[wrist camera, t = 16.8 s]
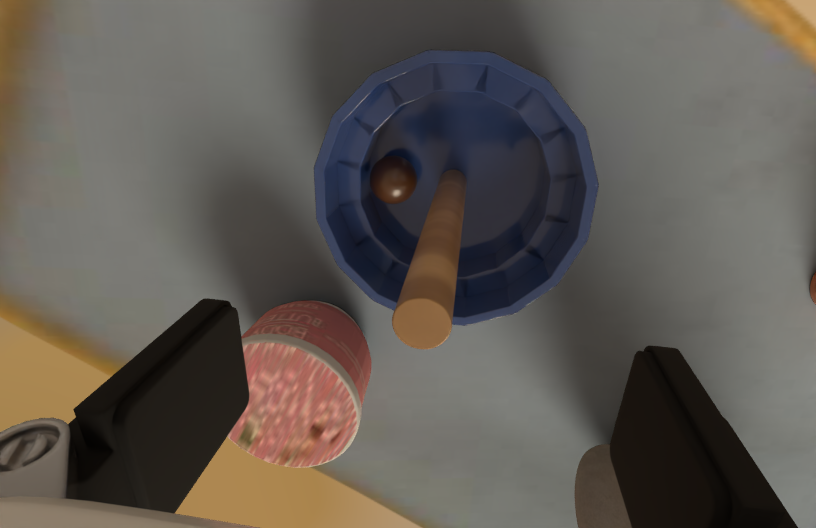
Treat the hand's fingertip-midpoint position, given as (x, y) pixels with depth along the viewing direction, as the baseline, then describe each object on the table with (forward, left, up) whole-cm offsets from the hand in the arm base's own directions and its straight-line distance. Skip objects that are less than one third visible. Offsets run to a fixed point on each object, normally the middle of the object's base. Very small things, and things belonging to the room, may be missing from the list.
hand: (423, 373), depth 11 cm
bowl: (0, 0, -22) cm, 22 cm away
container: (+14, -10, -22) cm, 28 cm away
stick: (0, 0, -21) cm, 21 cm away
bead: (0, -4, -19) cm, 20 cm away
